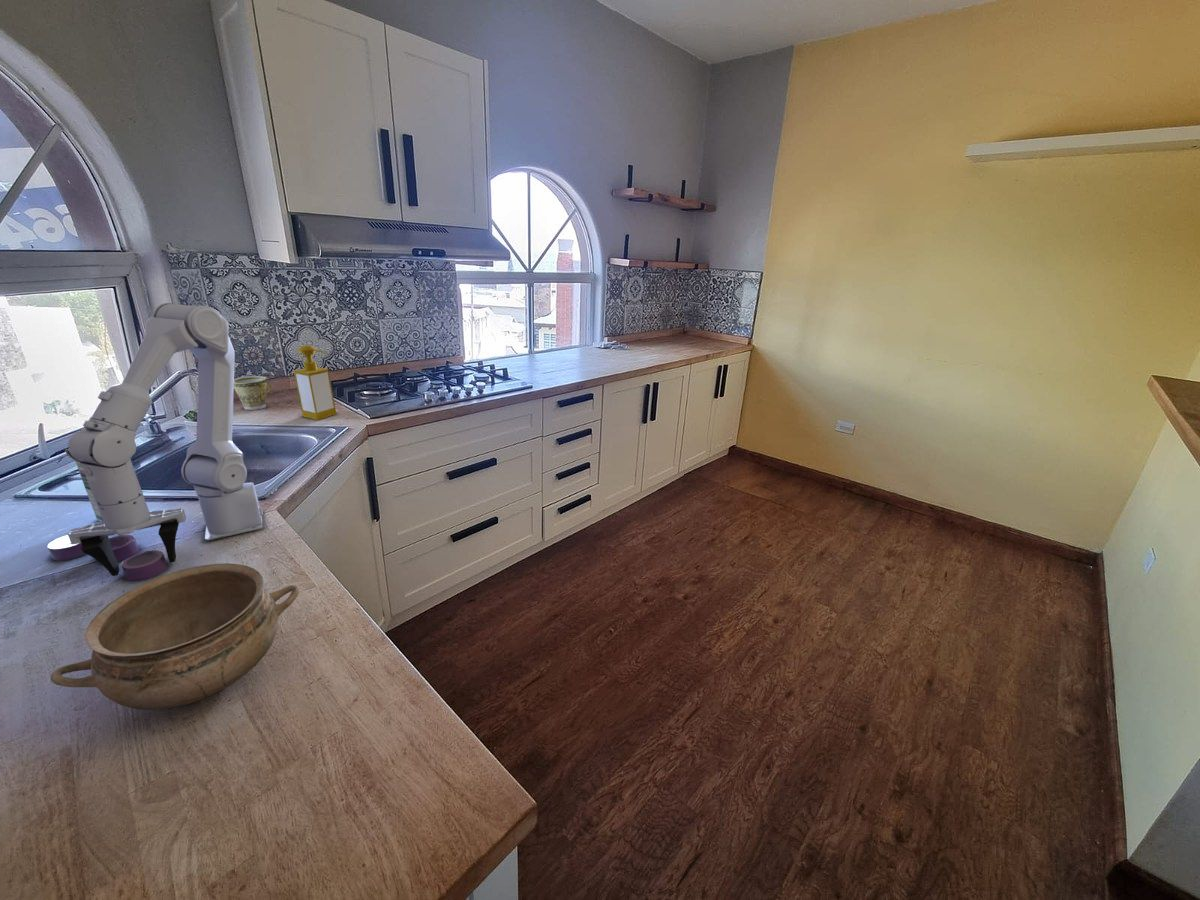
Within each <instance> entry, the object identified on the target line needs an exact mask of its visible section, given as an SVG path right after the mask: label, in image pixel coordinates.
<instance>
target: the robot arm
mask: <svg viewBox="0 0 1200 900" xmlns="http://www.w3.org/2000/svg"><path fill="white" fill-rule="evenodd" d="M229 326H230V322H229V321H228V320H227V319H226V318H225V317H224V316H223V315H222V314H221V313H220V312H219V311H218V310H216V308H213V307H211V306H208V305H188V304H177V303H173V302H163V303H161V304H159V305H157V306H156V307H155V308H154V309H153V311H152V313H151V316H150V317H149V318H148V319H147V320H146V322H145V334H144V337H143V339H142V341H141V343H140V345H139V347H138V349H137V351H136V353H135V355H134V357H133V359H132V361H131V362H130V364H129V365H130V366H129V368H128V369H127V372H126V373H125V375H124V378H123V380H122V382H120V383H117V384H113V385H110V386H108V387H107V389H106V391H104V390H102V391H100V393H99V395H98V396H97V399H99V402H98V403H97V405H96V407H95V409H94V410H93V412H92V414H91V415H90V417H89V419H87V420H85V421H84V423H83V424H82V427H84V428H81V429H79V431H76V432H74V433H73V434H72V435H71V436H70V438H69V439H68V443H67V447H68V448H66V449H65V450H64V452H65V454H66V455H67V456H68V457H69V458H70V459H71V460H72V461H74V462H75V461H77V462H79V463H80V464H81V465H82V468H83V470H84V473H85V475H86V479H87V481H88V483H89V486H90V489H91V491H92V494H93V496H94V499H95V501H96V503H97V506H98V509H99V511H100V514H101V516H102V519H103V521H98V522H94V523H91V524H88V525H84V526H80V527H76V528H71V529H70V530H69V531H68V533H67V535H68V537H69V539H70V541H71V544H72V545H74V544H79V543H82V547H81V550H82V551H83V552H84V553H85V555H87V556H90V557H91V558H93V559H94V560H96V561H97V562H98V563H100V564H101V565H102V566H103V567H104V568H105V569H106V570H107V571H108V572H109V574H110V575H111V576H112V577H117V576H118V575H119V573H120V570H121V567H120V563H119V561H117V560H116V557H115V555H114V553H113V551H112V548H111V544H110V541H109V538H110V536H114V535H116V536H121V535H131V534H133V533H134V532H135V531H139V530H143V529H148V528H149V529H150V528H153V527H158V526H160V527H159V528H158V535H159V537H160V540H161V541H162V543H163V545H164V548H165V551H166V555H167V559H168V561H169V564H170V563H175V562H176V559H177V554H176V540H177V539H176V538H177V537H176V536H177V532H178V529H179V526H180V525H179V524H180V523H186V520H187V515H186V512H185V509H184V507H180V508H173V509H162V510H160V509H159V510H149V507H148V504H147V501H146V499H145V496H144V493H143V490H142V487H141V485H140V482H139V479H138V476H137V474H136V470H135V467H134V465H133V462H132V459H131V458H132V457H133V456H134V455H135V454H136V452H137V443H136V441H135V440H136V439H135V438H136V437H137V434H136V432H137V431H138V429H139V427H140V426H141V423H142V422H143V420H144V418H145V416H146V415H147V413H148V411H149V409H150V407H151V406H152V404H153V400H152V398H151V396H150V394H149V391H150V390H151V389H152V387H153V385H154V384H155V382H156V381H157V379H158V378H159V377H160V375H161V374H162V373H163V371H164V369H165V368H166V366H167V365H168V364H169V362H170V360H171V359H172V358H173V356H174V355H175V354H177V353H180V352H183V351H187V350H188V351H189V352H190V353H191V355H194V356H195V358H197V365H198V366H197V403H196V439H195V441H194V442H193V443H191V445H190V446H189V447H187V449H186V457H185V459H184V461H183V463H182V465H181V468H180V473H181V477H182V479H183V480H184V482H186V483H187V484H189V485H191V486H192V487H193V490H194V491H195V493H196V496H197V499H198V503H199V505H200V509H201V512H202V515H203V519H204V522H205V532H204V541H205V542H209V541H213V540H217V539H221V538H226V537H227V538H228V537H230V536H235V535H239V534H240V535H241V534H244V533H249V532H253V531H257V530H262V529H263V528H264V527H263V517H262V516H263V515H264V514H263V509H262V506H260V502H259V498H258V494H257V490H256V486H255V483H254V482H246V481H247V476H248V470H247V466H246V465H245V463H244V453H243V452H242V451H241V449H239V448H238V446H237V445H236V444H235V443H234V442H233V429H234V428H233V426H234V425H233V423H234V419H233V418H234V394H235V389H234V379H235V362H236V361H235V359H236V355H235V354H236V353H235V352H236V351H235V349H234V346H233V343H232V341H231V338H230V336H229V334H230V333H229V331H230V330H229V329H230V327H229Z"/></svg>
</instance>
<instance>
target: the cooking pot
mask: <svg viewBox="0 0 1200 900" xmlns="http://www.w3.org/2000/svg"><path fill="white" fill-rule="evenodd" d="M264 583H265V582H264V578H263V575H262V574H261V573H260V571H258V569H257V570H256V569H255V568H254V567H252V566H248V565H246V564H240V563H229V562H228V563H227V562H225V563H224V562H223V563H211V564H204V565H199V566H198V565H197V566H193V567H189V568H185V569H179V570H177V571H173V572H171V573H166V574H165V575H161V576H159V577H156V578H154V579H152V580H149V581H147V582H144V583H142V584H141V585H138V586H136V587H134V588H132V589H130V590H129V591H127V592H126V593H123V594H122V595H119V596H118V597H117V598H116V599H114V600H113V601H111V602H110V603H108V604H107V605H106V606H105V607H103V608H102V610H100V611H99V612H98V613H97V614H96V615H95V616H94V618H92V620H91V621H90V623H89V624H88V626H87V628H86V631H85V635H84V637H85V638H84V639H85V642H86V644H87V646H88V647H89V649H91V650H92V652H91V658H89V659H86V660H82V661H79V662H74V663H70V664H67V665H63V666H60V667H57V668H56V669H54V671H52V673H51V674H50V681H51V682H52V683H53V684H55V685H56V686H61V687H66V688H97V689H98V691H99V692H100V693H101V694H102V695H103V696H104V697H105V698H107V699H109V700H110V701H112V702H114V703H115V704H117V705H119V706H122V707H127V708H131V709H135V710H146V711H147V710H148V711H154V710H155V711H156V710H167V709H172V708H177V707H183V706H185V705H188V704H192V703H196V702H199V701H201V700H205V699H206V698H208V697H211V696H213V695H215V694H216V693H219V692H221V691H223V690H224V689H226V688H228V687H230V686H232V685H233V684H234V683H236V682H238V681H239V680H240V679H242V678H243V677H244V676H246V675H247V674H248V673H249V672H250V671H251V670H252V669H253V668H255V667H256V666H257V665H258V664H259V662H260V661H262V659H263V658H264V657H265V656H266V654H267V652H269V650H270V648H271V646H272V645H273V642H274V640H275V638H276V635H277V632H278V630H279V621H280V615H281V614H282V613H283V612H285V610H286V609H288V608H289V607H290V606H291V605H293V603H294V602H295V600H296V599H297V598H298V595H299V593H300V589H299V586H297V585H295V584H291V585H287V586H285V587H283V588H281V589H278V590H275V591H271V592H269V591H268V590H267V589H266V588H265V586H264ZM289 593H290V594H289ZM287 594H289V596H288V597H287V598H286V599H285V600H284V601H282V602H281V603H276V602H277V601H278V600H280V599H281V598H282V597H284V596H285V595H287ZM87 670H88V671H90V670H91V674H90V675H88V676H83V677H77V678H75V677H67V676H63V675H65V674H69V673H73V672H80V671H87Z"/></svg>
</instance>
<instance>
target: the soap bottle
mask: <svg viewBox="0 0 1200 900" xmlns="http://www.w3.org/2000/svg"><path fill="white" fill-rule="evenodd" d="M297 351H298V352H300V354H301V356H305V361H304V362H303V367H304V368H300V369H294V370H293V376H294V379H295V385H296V389H297V390H296V391H297V394H298V400H299V405H300V409H301V415H302V417H303V418H307V419H312V420H316V421H319V420H322V419H326V418H329V417H331V416H335V415H337V409H336V403H335V399H334V392H333V387H332V381H331V377H330V376H331V375H330V371H329V368H324V367H319V366H318V365H317V361H315V360H313V358H312V356H313V355H316V353H315V352H319V353H322V354H324V355H328V353H327V352H326V351H323V350H321V349H317V348H316V347H315V346H313V345H308V344H307V345H303V346H300V347H298V349H297Z"/></svg>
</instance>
